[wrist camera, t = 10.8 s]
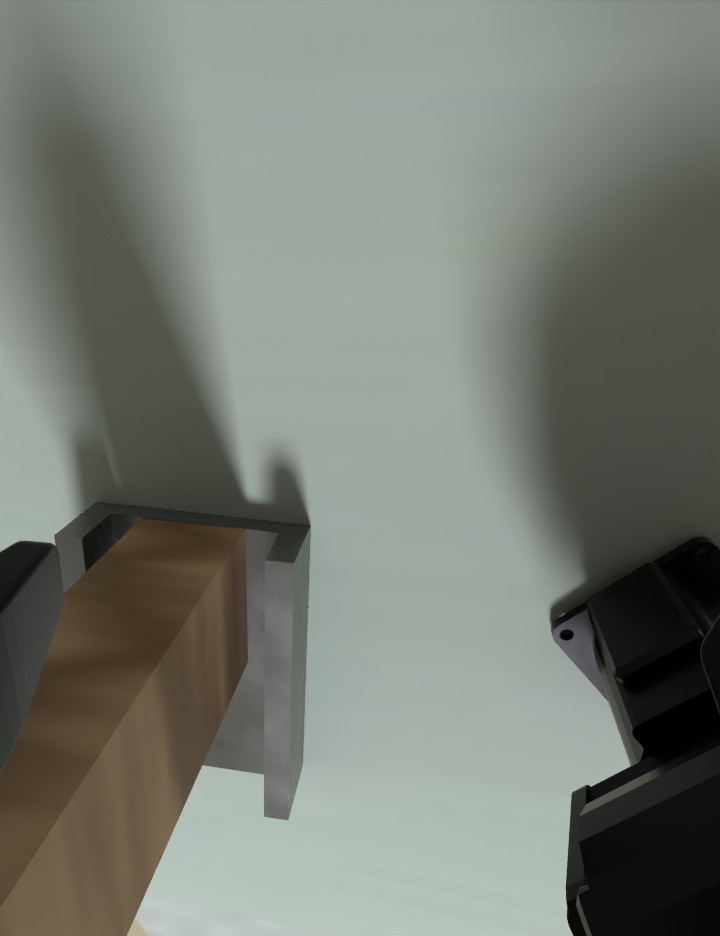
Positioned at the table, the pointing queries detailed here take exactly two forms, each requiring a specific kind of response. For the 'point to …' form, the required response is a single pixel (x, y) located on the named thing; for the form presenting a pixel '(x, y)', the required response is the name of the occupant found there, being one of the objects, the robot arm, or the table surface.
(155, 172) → the table surface
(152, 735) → the wooden block
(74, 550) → the track
